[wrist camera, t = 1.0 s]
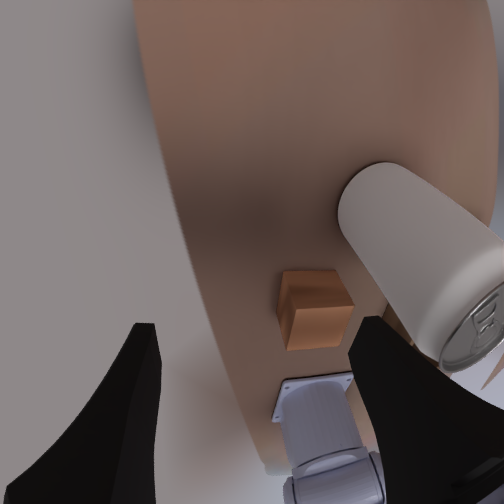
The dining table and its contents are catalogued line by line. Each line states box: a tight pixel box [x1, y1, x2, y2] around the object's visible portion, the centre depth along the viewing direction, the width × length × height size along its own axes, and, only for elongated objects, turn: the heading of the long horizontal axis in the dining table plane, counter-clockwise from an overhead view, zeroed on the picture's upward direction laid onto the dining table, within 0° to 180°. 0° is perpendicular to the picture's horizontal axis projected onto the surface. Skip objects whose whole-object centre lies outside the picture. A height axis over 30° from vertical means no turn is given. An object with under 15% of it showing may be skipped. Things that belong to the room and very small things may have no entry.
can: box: [338, 162, 504, 373], centre depth 15 cm, size 6×6×12 cm
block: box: [276, 270, 355, 351], centre depth 21 cm, size 4×4×4 cm
